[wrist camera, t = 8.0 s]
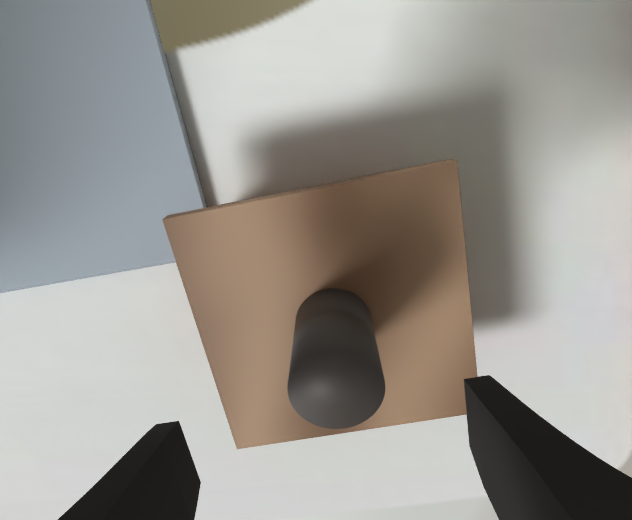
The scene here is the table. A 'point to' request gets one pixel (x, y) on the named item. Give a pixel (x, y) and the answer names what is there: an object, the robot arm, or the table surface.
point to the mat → (87, 142)
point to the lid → (333, 303)
